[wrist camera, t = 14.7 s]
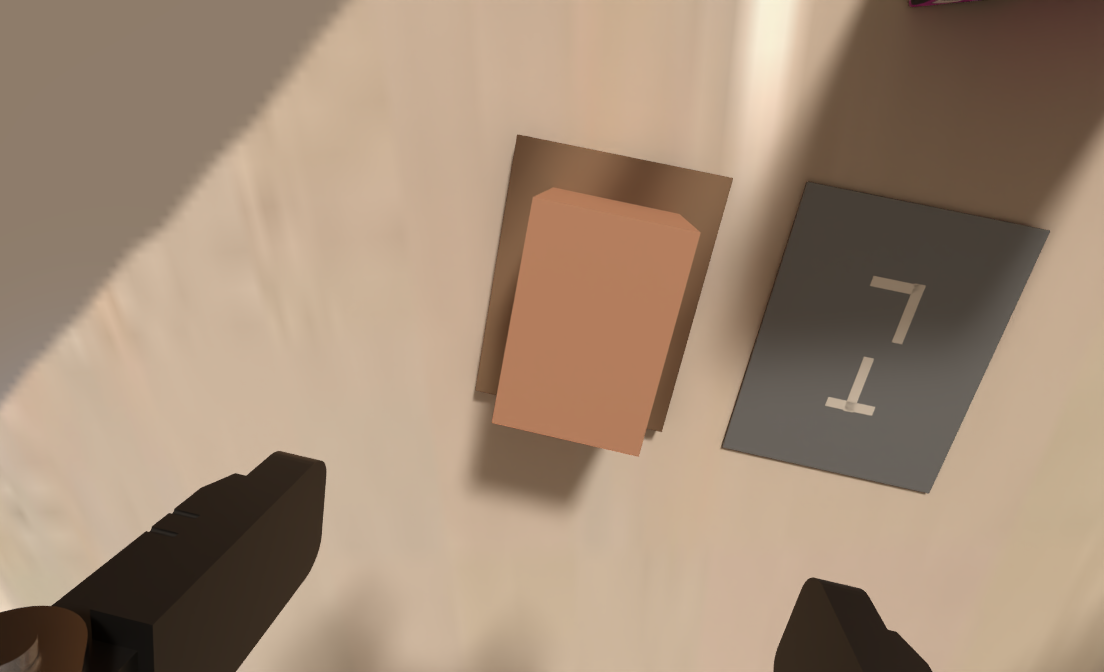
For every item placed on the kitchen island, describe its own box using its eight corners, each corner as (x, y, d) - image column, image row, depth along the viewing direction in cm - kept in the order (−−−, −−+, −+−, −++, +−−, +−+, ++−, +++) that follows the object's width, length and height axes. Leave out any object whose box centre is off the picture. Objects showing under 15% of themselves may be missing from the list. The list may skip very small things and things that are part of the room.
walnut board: (728, 177, 27) (733, 178, 26) (660, 423, 31) (661, 431, 30) (520, 135, 27) (517, 134, 26) (479, 383, 31) (475, 390, 30)
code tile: (1047, 230, 26) (1050, 230, 26) (927, 491, 31) (929, 493, 30) (807, 181, 27) (808, 181, 26) (722, 445, 31) (722, 447, 31)
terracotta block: (679, 214, 27) (700, 232, 20) (633, 389, 30) (638, 456, 23) (553, 187, 27) (532, 196, 20) (519, 363, 30) (491, 422, 23)
